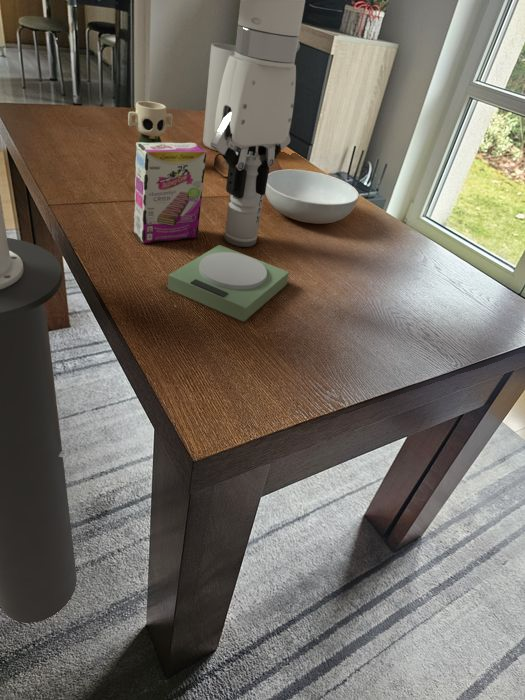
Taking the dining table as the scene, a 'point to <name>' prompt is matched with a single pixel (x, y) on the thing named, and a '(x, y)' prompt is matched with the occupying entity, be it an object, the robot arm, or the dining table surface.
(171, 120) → the character mug
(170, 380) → the dining table surface
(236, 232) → the travel mug
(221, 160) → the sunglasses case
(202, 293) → the kitchen scale
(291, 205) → the serving bowl
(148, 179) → the candy bar box
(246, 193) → the rook chess piece
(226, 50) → the cylinder vase
